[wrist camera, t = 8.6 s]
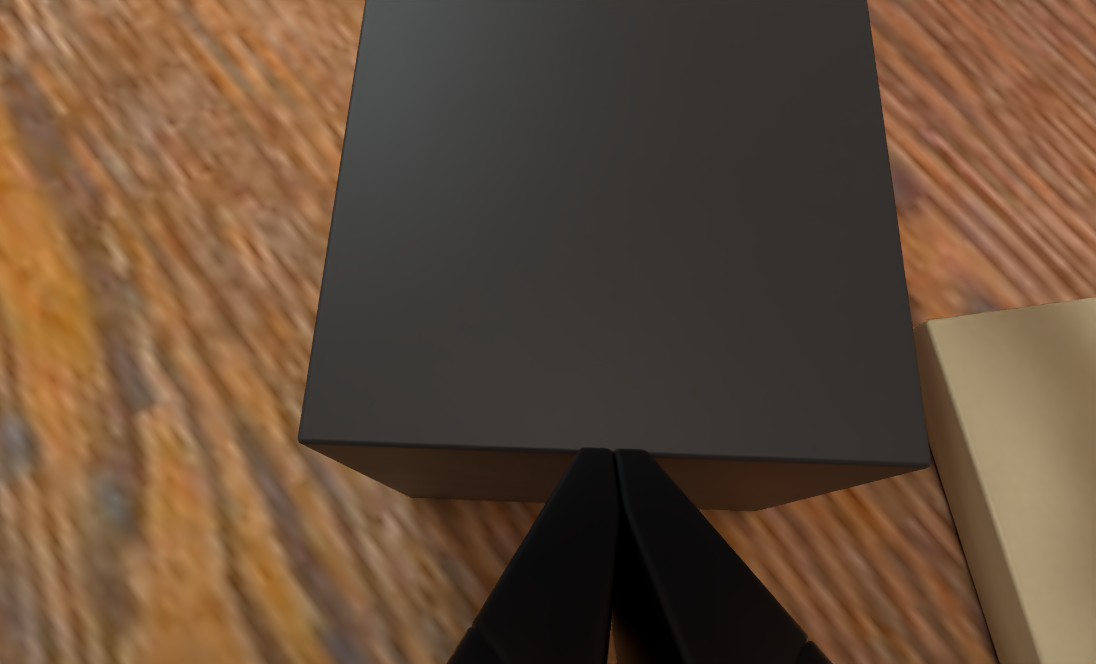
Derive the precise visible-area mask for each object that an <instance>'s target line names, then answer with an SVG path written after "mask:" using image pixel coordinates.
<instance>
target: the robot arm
mask: <svg viewBox="0 0 1096 664" xmlns="http://www.w3.org/2000/svg"><path fill="white" fill-rule="evenodd" d="M611 619H612V631H613V639H614V647H615V653H616V660H617V664H832V662H831V661H830V660H829V659H828V658H827V657H826V656H825V654H824V653H823V652H822V651H821V650H820V649H819V647H818V646H817V645H816V644H815V643H814V642H813V641H808V636H807V634H806V633H805V632H804V631H803V630H802V628H801V627H800V626H799V625H798V624H797V623H796V621H795V620H794V619H793V618H792V617H791V616H790V615H789V613H788V612H787V611H786V610H785V609H784V608H783V607H782V605H781V604H780V603H779V602H778V601H777V600H776V599H775V597H774V596H773V595H772V594H771V593H770V592H769V590H768V589H767V588H766V587H765V586H764V585H763V584H762V582H761V581H760V580H759V579H758V578H757V577H756V576H755V574H754V573H753V572H752V571H751V570H750V569H749V567H748V566H747V565H746V564H745V563H744V562H743V561H742V559H741V558H740V557H739V556H738V555H737V554H736V553H735V551H734V550H733V549H732V548H731V547H730V546H729V544H728V543H727V542H726V541H725V540H724V539H723V538H722V536H721V535H720V534H719V533H718V532H717V531H716V530H715V528H714V527H713V526H712V525H711V524H710V523H709V521H708V520H707V519H706V518H705V517H704V516H703V515H702V513H701V512H700V511H699V510H698V509H697V508H696V507H695V505H694V504H693V503H692V502H691V501H690V500H689V499H688V497H687V496H686V495H685V494H684V493H683V492H682V490H681V489H680V488H679V487H678V486H677V485H676V484H675V482H674V481H673V480H672V479H671V478H670V477H669V476H668V474H667V473H666V472H665V471H664V470H663V469H662V467H661V466H660V465H659V464H658V463H657V462H656V461H655V459H654V458H653V457H652V456H651V455H650V454H649V453H648V452H647V451H645V450H643V449H616V450H615V451H614V453H613V452H612V451H611V450H610V449H608V448H590V447H584V448H581V449H580V450H579V451H578V452H577V454H576V455H575V457H574V458H573V460H572V462H571V463H570V465H569V467H568V468H567V470H566V471H565V473H564V475H563V476H562V478H561V480H560V481H559V483H558V484H557V486H556V488H555V489H554V491H553V493H552V494H551V496H550V497H549V499H548V501H547V502H546V504H545V506H544V507H543V509H542V510H541V512H540V514H539V515H538V517H537V519H536V520H535V522H534V523H533V525H532V527H531V528H530V530H529V532H528V533H527V535H526V536H525V538H524V540H523V541H522V543H521V545H520V546H519V548H518V549H517V551H516V553H515V554H514V556H513V558H512V559H511V561H510V562H509V564H508V566H507V567H506V569H505V571H504V572H503V574H502V575H501V577H500V579H499V580H498V582H497V584H496V585H495V587H494V588H493V590H492V592H491V593H490V595H489V597H488V598H487V600H486V601H485V603H484V605H483V606H482V608H481V610H480V611H479V613H478V614H477V616H476V618H475V619H474V621H473V623H472V627H470V628H469V629H468V630H467V632H466V633H465V635H464V637H463V638H462V640H461V641H460V643H459V645H458V646H457V648H456V650H455V651H454V653H453V654H452V656H451V657H450V659H449V660H448V662H447V663H446V664H607V661H608V651H609V640H610V630H611ZM807 641H808V642H807Z"/></svg>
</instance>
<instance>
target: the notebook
mask: <svg viewBox="0 0 1096 664" xmlns="http://www.w3.org/2000/svg"><path fill="white" fill-rule="evenodd" d="M913 335H914V342H915V350H916V357H917V364H918V371H919V378H920V386H921V393H922V400H923V407H924V414H925V421H926V429H927V436H928V441H929V444H930V447H931V450H932V453H933V456H934V460H935V463H936V466H937V469H938V472H939V475H940V478H941V481H942V485H943V488H944V491H945V494H946V497H947V500H948V503H949V506H950V510H951V513H952V516H953V519H954V522H955V525H956V528H957V531H958V535H959V538H960V541H961V544H962V547H963V550H964V553H965V556H966V559H967V563H968V566H969V569H970V572H971V575H972V578H973V581H974V584H975V588H976V591H977V594H978V597H979V600H980V603H981V606H982V609H983V613H984V616H985V619H986V622H987V625H988V628H989V631H990V634H991V638H992V641H993V644H994V647H995V650H996V653H997V656H998V659H999V663H1000V664H1096V297H1093V298H1085V299H1078V300H1071V301H1063V302H1056V303H1049V304H1042V305H1034V306H1027V307H1020V308H1013V309H1005V310H998V311H991V312H984V313H976V314H969V315H962V316H954V317H947V318H940V319H933V320H927V321H926V322H924V323H923V324H921V325H920V326H918V327H916V328H915V329H913Z"/></svg>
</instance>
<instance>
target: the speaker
mask: <svg viewBox="0 0 1096 664" xmlns="http://www.w3.org/2000/svg"><path fill="white" fill-rule="evenodd" d="M298 442H299V443H301V444H303V445H305V446H307V447H309V448H311V449H313V450H315V451H317V452H319V453H321V454H323V455H325V456H327V457H329V458H331V459H333V460H335V461H337V462H339V463H342V464H344V465H346V466H348V467H350V468H352V469H354V470H356V471H358V472H360V473H362V474H364V475H366V476H368V477H370V478H372V479H374V480H376V481H378V482H380V483H382V484H384V485H386V486H388V487H390V488H392V489H395V490H397V491H399V492H401V493H403V494H405V495H407V496H409V497H411V498H436V499H462V500H487V501H513V502H538V503H546V502H547V501H548V499H549V497H550V496H551V494H552V493H553V491H554V489H555V488H556V486H557V484H558V483H559V481H560V480H561V478H562V476H563V475H564V473H565V471H566V470H567V468H568V467H569V465H570V463H571V462H572V460H573V458H574V457H575V455H576V454H577V452H578V451H579V450H580V449H581V448H584V447H590V448H608V449H610V450H611V451H612V452H613V453H614V451H615V450H616V449H643V450H645V451H647V452H648V453H649V454H650V455H651V456H652V457H653V458H654V459H655V461H656V462H657V463H658V464H659V465H660V466H661V467H662V469H663V470H664V471H665V472H666V473H667V474H668V476H669V477H670V478H671V479H672V480H673V481H674V482H675V484H676V485H677V486H678V487H679V488H680V489H681V490H682V492H683V493H684V494H685V495H686V496H687V497H688V499H689V500H690V501H691V502H692V503H693V504H694V505H695V507H696V508H697V509H717V510H742V511H758V510H762V509H766V508H770V507H774V506H778V505H782V504H786V503H790V502H794V501H798V500H802V499H806V498H810V497H814V496H818V495H822V494H826V493H830V492H834V491H838V490H842V489H846V488H850V487H853V486H857V485H861V484H865V483H869V482H873V481H877V480H881V479H885V478H889V477H893V476H897V475H901V474H905V473H909V472H913V471H917V470H921V469H925V468H928V467H930V465H931V457H930V450H929V443H928V436H927V429H926V421H925V414H924V407H923V400H922V393H921V386H920V378H919V371H918V364H917V357H916V350H915V342H914V335H913V328H912V321H911V314H910V307H909V299H908V292H907V285H906V278H905V271H904V264H903V256H902V249H901V242H900V235H899V228H898V220H897V213H896V206H895V199H894V192H893V185H892V177H891V170H890V163H889V156H888V149H887V141H886V134H885V127H884V120H883V113H882V106H881V98H880V91H879V84H878V77H877V70H876V62H875V55H874V48H873V41H872V34H871V27H870V19H869V12H868V5H867V0H366V1H365V7H364V13H363V20H362V26H361V33H360V39H359V46H358V52H357V59H356V65H355V72H354V78H353V84H352V91H351V97H350V104H349V110H348V117H347V123H346V130H345V136H344V143H343V149H342V155H341V162H340V168H339V175H338V181H337V188H336V194H335V201H334V207H333V214H332V220H331V226H330V233H329V239H328V246H327V252H326V259H325V265H324V272H323V278H322V285H321V291H320V297H319V304H318V310H317V317H316V323H315V330H314V336H313V343H312V349H311V356H310V362H309V368H308V375H307V381H306V388H305V394H304V401H303V407H302V414H301V420H300V427H299V433H298Z"/></svg>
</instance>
